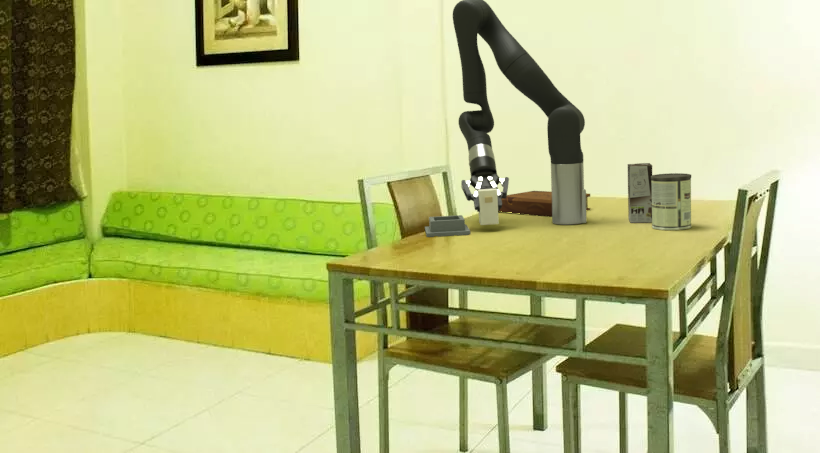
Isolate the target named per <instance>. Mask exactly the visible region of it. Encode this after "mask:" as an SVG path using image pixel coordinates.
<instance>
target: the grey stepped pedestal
mask: <svg viewBox="0 0 820 453" xmlns="http://www.w3.org/2000/svg"><path fill="white" fill-rule="evenodd" d="M465 220H466V219H465V218H464V217H463V215H462V214H459V215H442V216H440V215H439V216H429V217H428V221H429V222H428V223H429V226H424V232H425V235H426V238H435V237H434V236H438V237H453V236H454V235H457V236H470V235H469V234H471V230H470V228H469V226H468V225H467V224H466V221H465Z"/></svg>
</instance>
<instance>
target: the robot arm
mask: <svg viewBox="0 0 820 453" xmlns="http://www.w3.org/2000/svg"><path fill="white" fill-rule="evenodd" d="M452 21H453V22H452V23H453V29H454V34H455V38H456V42H457V47H458V48H457V49H458V54H459V58H460V59H459V60H460V67H461V76H462V78H461V79H462V92H463V93H462V96H463V97H462V98H463V101H464V102H465V103H467V104H473V105H477V106H480V109H481V110H467V111H463V112H462V113H460V115H459V117H458V126H459V129H460V132H461V134H462V136H463V138H464V139H465V141H466V143H467V149H468V167H469V172H470V178H469V180H466V179H462V180H461V186H460V187H461V189H462V191H463V194H464V196H465V199H466V200H467V201H468V202H470V201H472V202H473V205H474V206H473V207H474V210H475V211H476V212H477V213H479V212H480V204H479V197H478V190H480V189H491V188H493V189H496V190H497V199H498V210H500V208H502V200H501V199H502V198H506V197H507V195H508V190H509V189H508V188H509V183H510V182H509V181H510V178H509V177H507V176H505V177H504V178H501V177H500V176H499V175H498V172H497V164H496V159H495V158H496V157H495V154H494V151H493V145H492V140H491V139H492V138H491V136H490V135H489V133H491V132H492V131H493V129H494V127H495V120H494V117H493V114H492V110H491V108H490V104H489V100H488V94H487V93H488V92H487V89H488V88H487V76H486V75H487V74H486V70H485V67H484V63H483V61H482V59H481V58H482V57H481V55H480V52H479V47H478V35H479V36H480V37H481V39H482V40H484V42H486V44H487V45H488V46H489V48H490V49H491V50H490V51H491V52H492V54H493V57H494V59H495V60H494V61H495V62H496V65H497V67H498V69H499V70H500V72H501V73H502V74H503V76H504V77H505V78H506V79H507V80H508V81H509V83H510V84H511V85H512V86H514V88H515V89H516V90H517V91H519V92H520V93H521V94H523V96H525V97H526V98H528V99H529V100H530V101H532V103H534V104H536V105H537V107H539V108H540V110H541V111H542V112H543V113H544V114H545V116H546V117H547V128H546V129H547V146H548V148H547V149H548V154H549V157H550V181H551V184H550V185H551V192H552V217H551V218H552V219H551V223H552V224H554V225H555V224H556V225H577V224H578V225H579V224H585V223H587V211H586V193H587V190H586V189H585V180H584V179H585V178H584V177H585V175H584V152H583V150H582V146H581V144H582V143H581V133H582V132H583V131H584V129H585V124H586V121H585V120H586V119H585V116H584V114H583V112H582V111H581V110H580V109H579V108H578V107H577V106H576V105H574V104H573V103H572V102H571V101H570V100H569V99H568V98H567V97H566V96H565V95H564V94H563V93H562V92H561V91H559V89H558V88H557V87H556V86H555V84H554V83H553V82H552V80H551V79H550V78H549V76H548V75H547V74H546V73H545V71H544V70H543V69H542V68H541V66H540V65H539V64H538V63H537V62H536V60H535V59H534V58H533V57H532V56H531V54H530V53H529V52H528V51H527V50H526V49H525V48H524V47H523V46H522V45H521V44H520V42H518V40H517V39H516V38H515V37H514V35H512V34H511V33H510V32H509V30H508V29H507V28H506V27H505V25H504V24H503V23H502V22H501V20H500V19H499V17H498V15H497V14H496V13H495V11H494V9H492V7H491V6H490V5H489V3H487V1H485V0H460V1H459V2H457V3H456V4H455V5H454V7H453V10H452ZM499 184H500V185H501V186H502V191H500V189H499V187H498V185H499ZM470 186H471V187H473V188H474V189H475V190H474V193H472V192H471V190H470Z"/></svg>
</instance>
